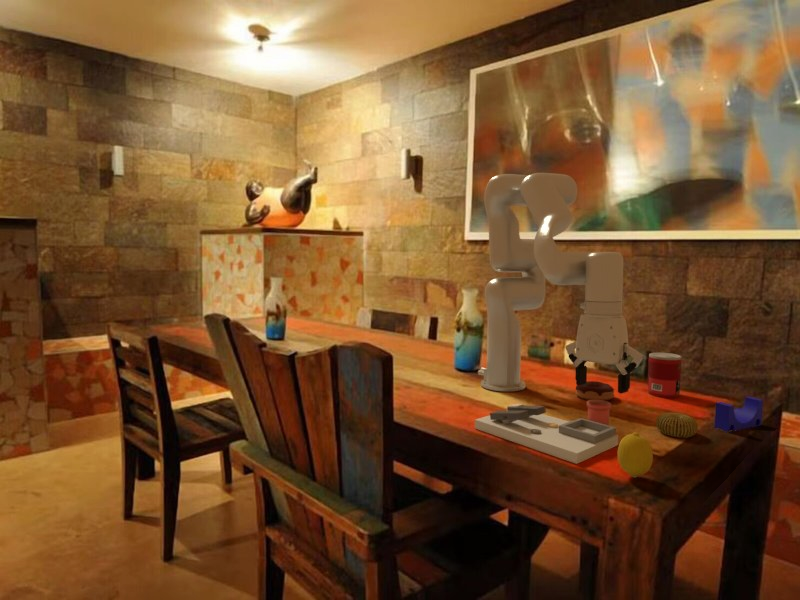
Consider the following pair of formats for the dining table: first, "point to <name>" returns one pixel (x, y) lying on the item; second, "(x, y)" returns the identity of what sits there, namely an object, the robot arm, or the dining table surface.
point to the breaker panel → (555, 435)
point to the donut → (595, 391)
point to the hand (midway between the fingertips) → (601, 388)
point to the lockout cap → (598, 411)
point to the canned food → (664, 375)
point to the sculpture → (677, 425)
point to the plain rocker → (509, 416)
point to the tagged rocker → (527, 409)
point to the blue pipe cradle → (739, 415)
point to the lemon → (635, 454)
